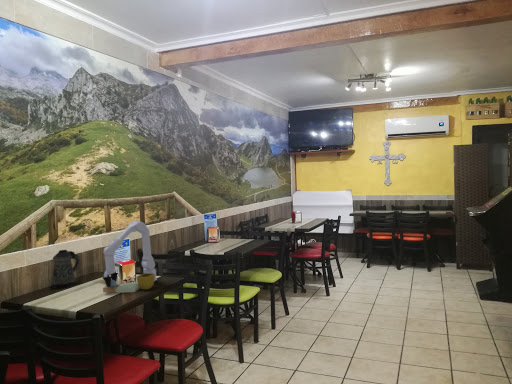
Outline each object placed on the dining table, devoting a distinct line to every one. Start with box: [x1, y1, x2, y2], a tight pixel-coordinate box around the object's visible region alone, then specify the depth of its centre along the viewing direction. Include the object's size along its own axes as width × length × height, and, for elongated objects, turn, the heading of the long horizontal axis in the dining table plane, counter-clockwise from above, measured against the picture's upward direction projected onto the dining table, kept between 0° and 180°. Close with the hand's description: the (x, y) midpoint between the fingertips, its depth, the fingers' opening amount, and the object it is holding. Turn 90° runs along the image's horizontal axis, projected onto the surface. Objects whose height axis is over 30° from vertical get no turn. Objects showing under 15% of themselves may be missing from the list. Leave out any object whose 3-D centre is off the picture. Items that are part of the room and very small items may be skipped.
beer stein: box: [50, 249, 81, 289], centre depth 282 cm, size 16×19×25 cm
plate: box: [105, 279, 118, 287], centre depth 260 cm, size 1×7×7 cm, turn 83°
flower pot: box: [136, 272, 155, 290], centre depth 259 cm, size 9×9×9 cm
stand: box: [102, 284, 121, 293], centre depth 260 cm, size 6×9×3 cm
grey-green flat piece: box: [116, 282, 141, 294], centre depth 259 cm, size 11×13×3 cm
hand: (111, 285), depth 260 cm, fingers open, 7 cm apart
